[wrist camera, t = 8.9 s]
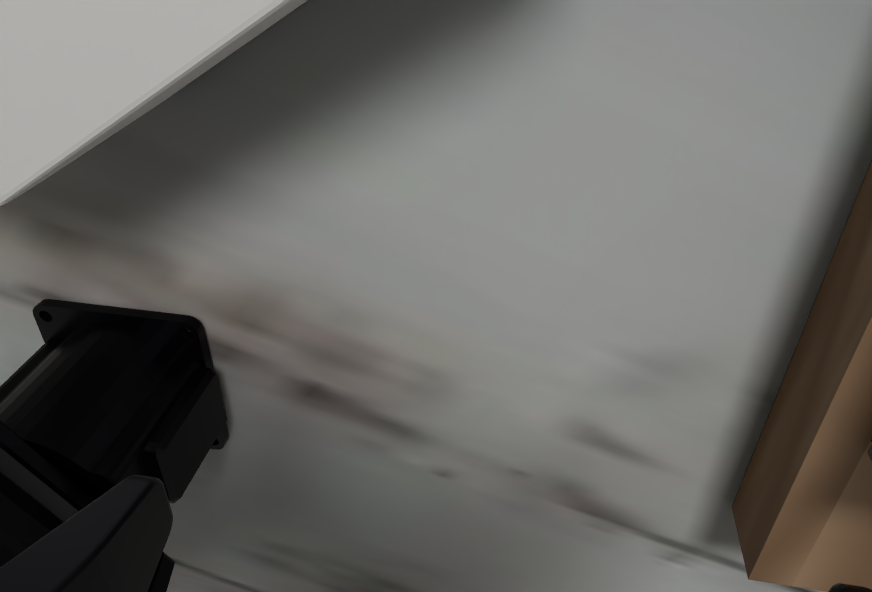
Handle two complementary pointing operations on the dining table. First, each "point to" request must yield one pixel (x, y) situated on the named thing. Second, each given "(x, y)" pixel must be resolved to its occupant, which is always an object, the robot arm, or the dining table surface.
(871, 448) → the grey block
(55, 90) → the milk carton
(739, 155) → the dining table surface
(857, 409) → the rail
